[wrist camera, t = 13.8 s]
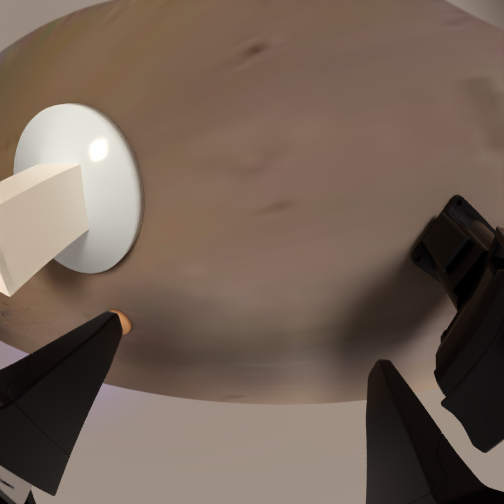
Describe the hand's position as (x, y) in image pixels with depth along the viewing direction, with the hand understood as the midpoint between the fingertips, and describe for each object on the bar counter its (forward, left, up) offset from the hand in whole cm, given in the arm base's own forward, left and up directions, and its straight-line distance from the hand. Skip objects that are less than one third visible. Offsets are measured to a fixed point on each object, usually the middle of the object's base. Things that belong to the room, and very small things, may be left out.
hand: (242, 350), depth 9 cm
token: (+9, +20, -13) cm, 25 cm away
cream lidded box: (+17, +7, -12) cm, 22 cm away
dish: (+17, +7, -13) cm, 23 cm away
